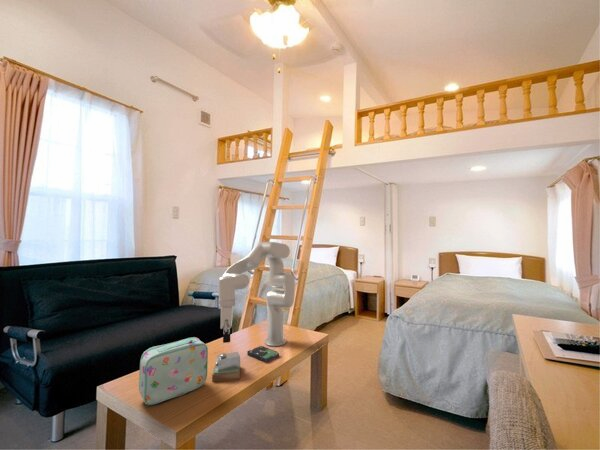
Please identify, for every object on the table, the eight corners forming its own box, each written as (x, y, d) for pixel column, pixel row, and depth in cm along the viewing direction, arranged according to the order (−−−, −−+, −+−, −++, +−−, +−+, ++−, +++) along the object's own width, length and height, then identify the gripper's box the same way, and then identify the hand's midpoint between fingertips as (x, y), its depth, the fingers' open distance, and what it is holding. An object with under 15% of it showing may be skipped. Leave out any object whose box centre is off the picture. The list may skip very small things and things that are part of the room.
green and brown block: (215, 369, 140) (215, 362, 141) (240, 367, 142) (240, 360, 143) (212, 381, 129) (212, 374, 129) (239, 379, 131) (239, 371, 131)
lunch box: (201, 376, 133) (201, 330, 134) (211, 385, 126) (211, 336, 126) (137, 400, 115) (137, 346, 115) (144, 411, 107) (144, 354, 108)
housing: (237, 361, 141) (237, 349, 141) (240, 367, 135) (240, 354, 135) (214, 366, 136) (214, 353, 136) (216, 371, 131) (216, 358, 131)
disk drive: (246, 356, 156) (265, 364, 147) (246, 351, 156) (265, 358, 147) (260, 350, 164) (279, 357, 155) (260, 345, 164) (279, 351, 155)
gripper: (220, 298, 144) (221, 332, 144) (216, 307, 127) (217, 346, 127) (235, 297, 146) (236, 331, 145) (234, 306, 129) (234, 344, 128)
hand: (227, 338), depth 136 cm, fingers open, 9 cm apart
